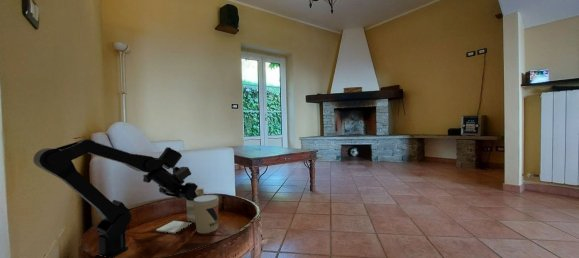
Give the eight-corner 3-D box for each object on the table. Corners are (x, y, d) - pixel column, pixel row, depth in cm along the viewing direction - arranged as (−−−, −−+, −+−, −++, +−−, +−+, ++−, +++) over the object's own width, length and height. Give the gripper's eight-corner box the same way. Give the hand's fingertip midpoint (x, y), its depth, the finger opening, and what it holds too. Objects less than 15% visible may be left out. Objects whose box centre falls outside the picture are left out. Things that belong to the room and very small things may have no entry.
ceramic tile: (174, 233, 93) (174, 232, 93) (156, 231, 96) (156, 229, 96) (191, 224, 102) (191, 222, 102) (173, 221, 105) (173, 220, 105)
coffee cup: (212, 235, 91) (210, 202, 91) (189, 233, 93) (187, 201, 92) (224, 224, 100) (222, 194, 100) (202, 223, 102) (201, 194, 102)
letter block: (194, 222, 103) (193, 191, 103) (187, 220, 106) (185, 189, 106) (205, 218, 107) (203, 188, 107) (197, 216, 110) (196, 187, 110)
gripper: (191, 162, 95) (216, 184, 104) (164, 160, 105) (189, 180, 115) (173, 188, 89) (201, 209, 98) (146, 183, 99) (174, 202, 109)
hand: (191, 199), depth 105 cm, fingers open, 9 cm apart
